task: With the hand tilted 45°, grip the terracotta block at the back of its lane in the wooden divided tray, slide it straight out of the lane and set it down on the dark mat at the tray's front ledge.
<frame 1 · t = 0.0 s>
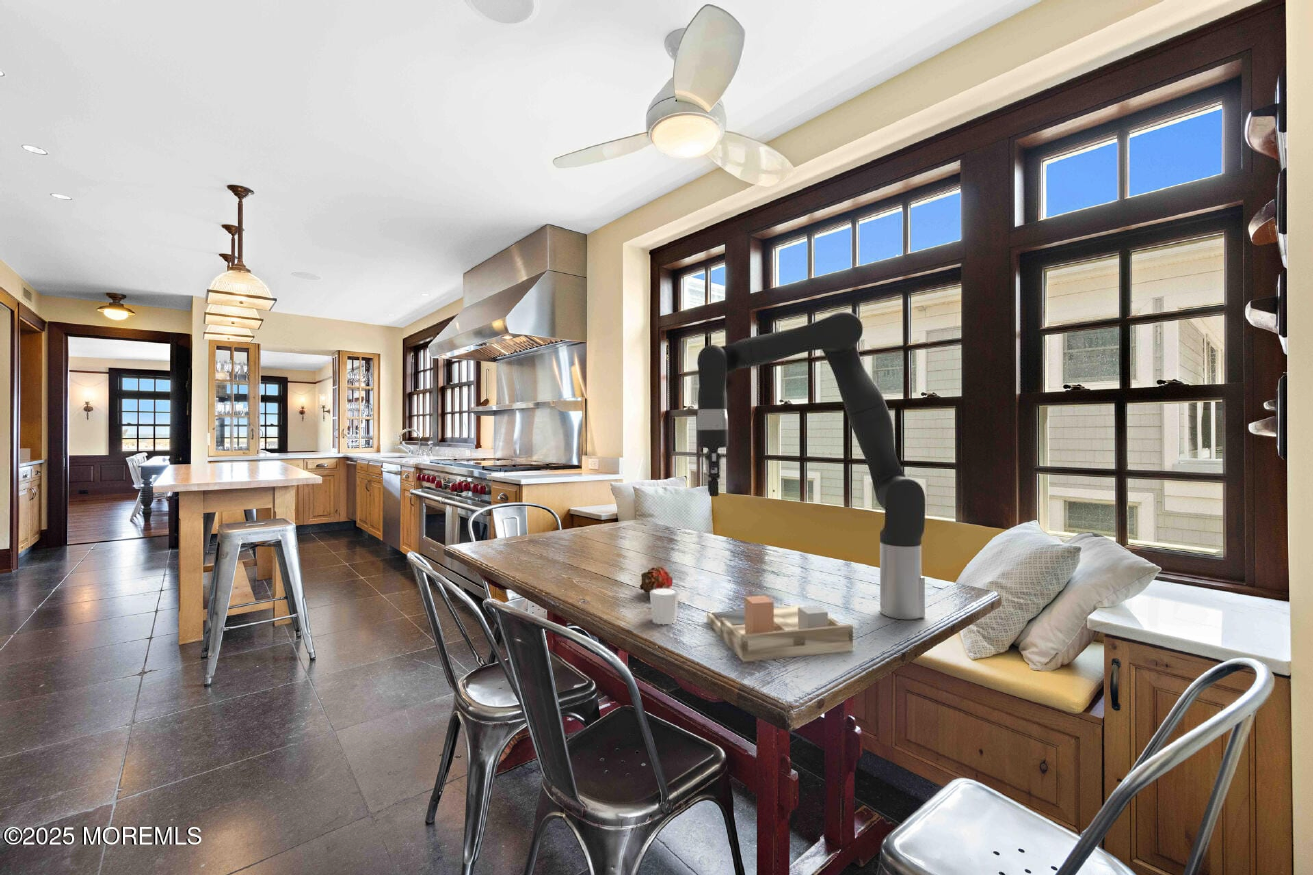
hand: (713, 494, 141), 29 cm above the table, tool pointing down, fingers open, 8 cm apart
grey block: (812, 633, 122), point 2 cm above the table, touching wooden divided tray
terracotta block: (759, 637, 119), point 2 cm above the table, touching wooden divided tray
dragon fruit: (656, 595, 158), on the table
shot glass: (664, 621, 137), on the table
wooden divided tray: (774, 634, 126), on the table
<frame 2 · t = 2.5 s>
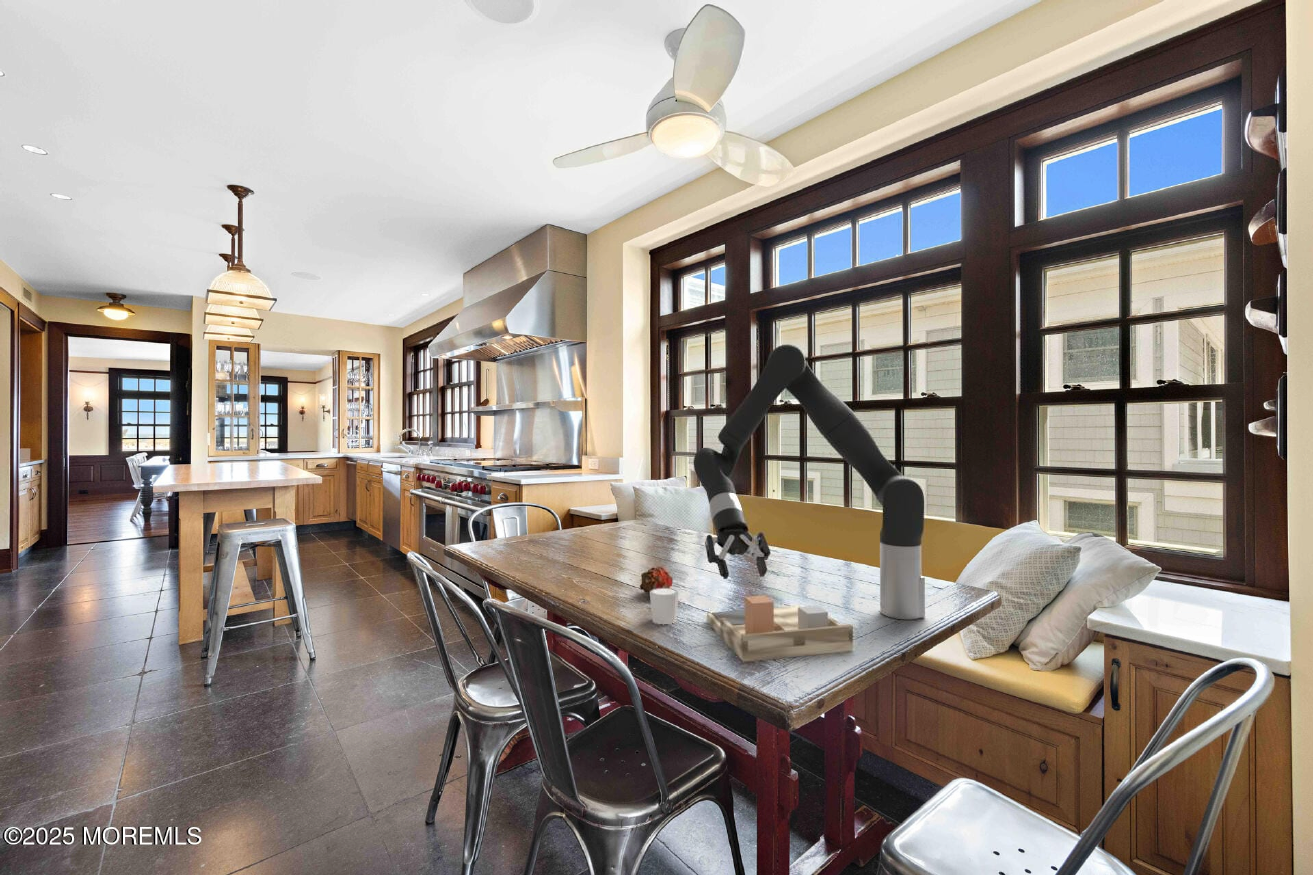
hand: (745, 575, 127), 13 cm above the table, tool tilted 45°, fingers open, 8 cm apart
nothing on the table moved.
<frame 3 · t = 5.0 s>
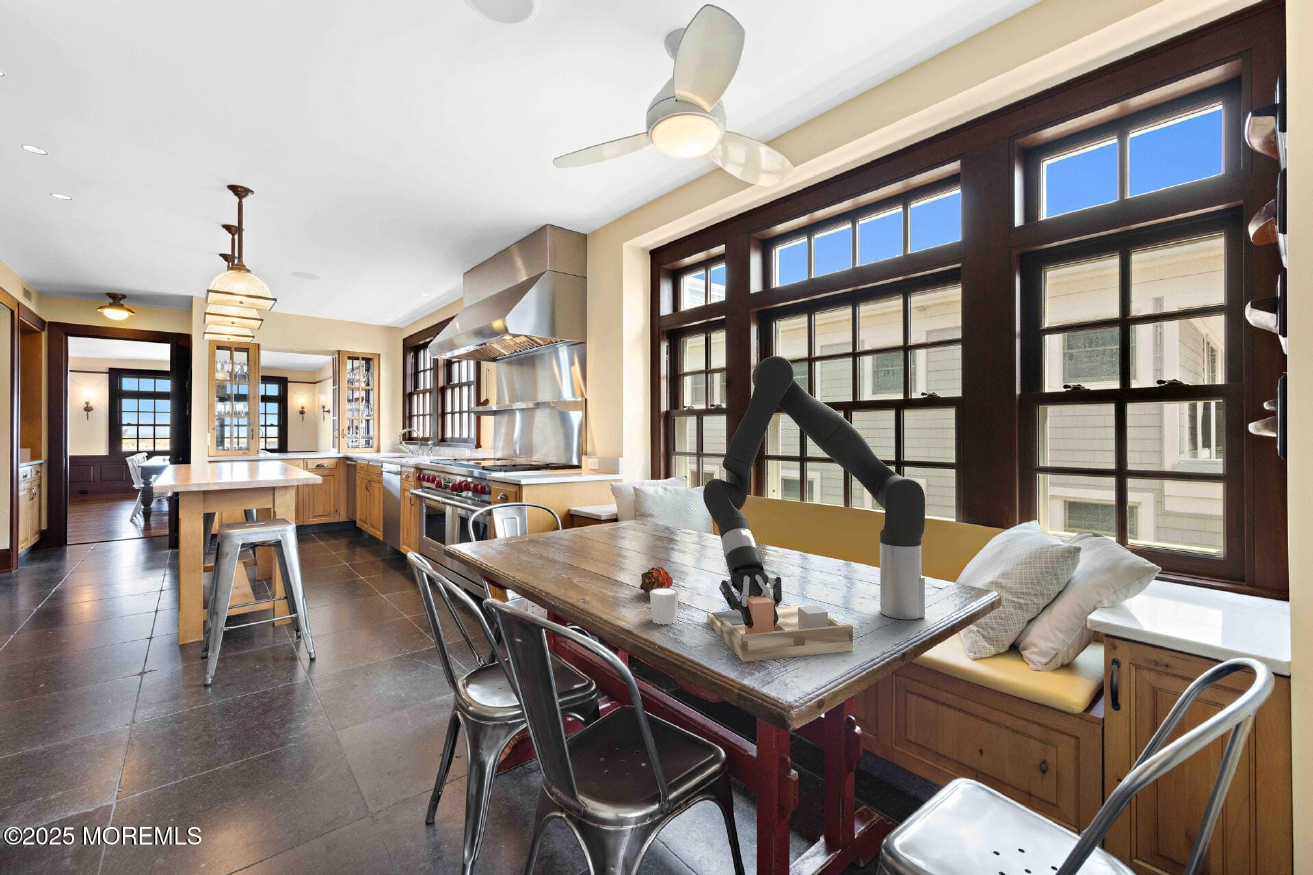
hand: (762, 625, 117), 5 cm above the table, tool tilted 45°, fingers closed on terracotta block, 4 cm apart
terracotta block: (759, 637, 119), point 2 cm above the table, touching gripper, wooden divided tray
everything else where it was.
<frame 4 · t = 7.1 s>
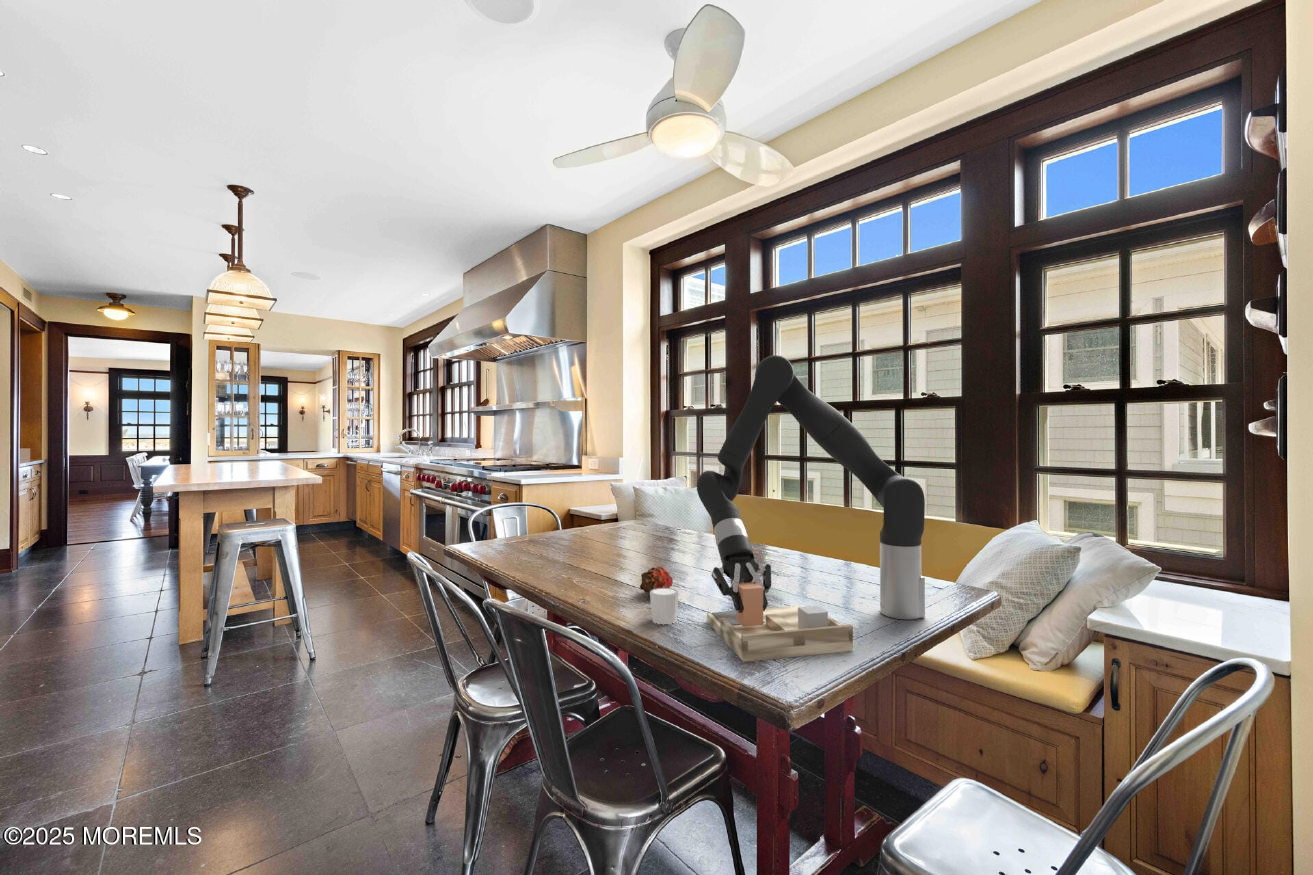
hand: (752, 609, 123), 7 cm above the table, tool tilted 45°, fingers closed on terracotta block, 4 cm apart
terracotta block: (749, 622, 124), point 3 cm above the table, touching gripper
everything else where it was.
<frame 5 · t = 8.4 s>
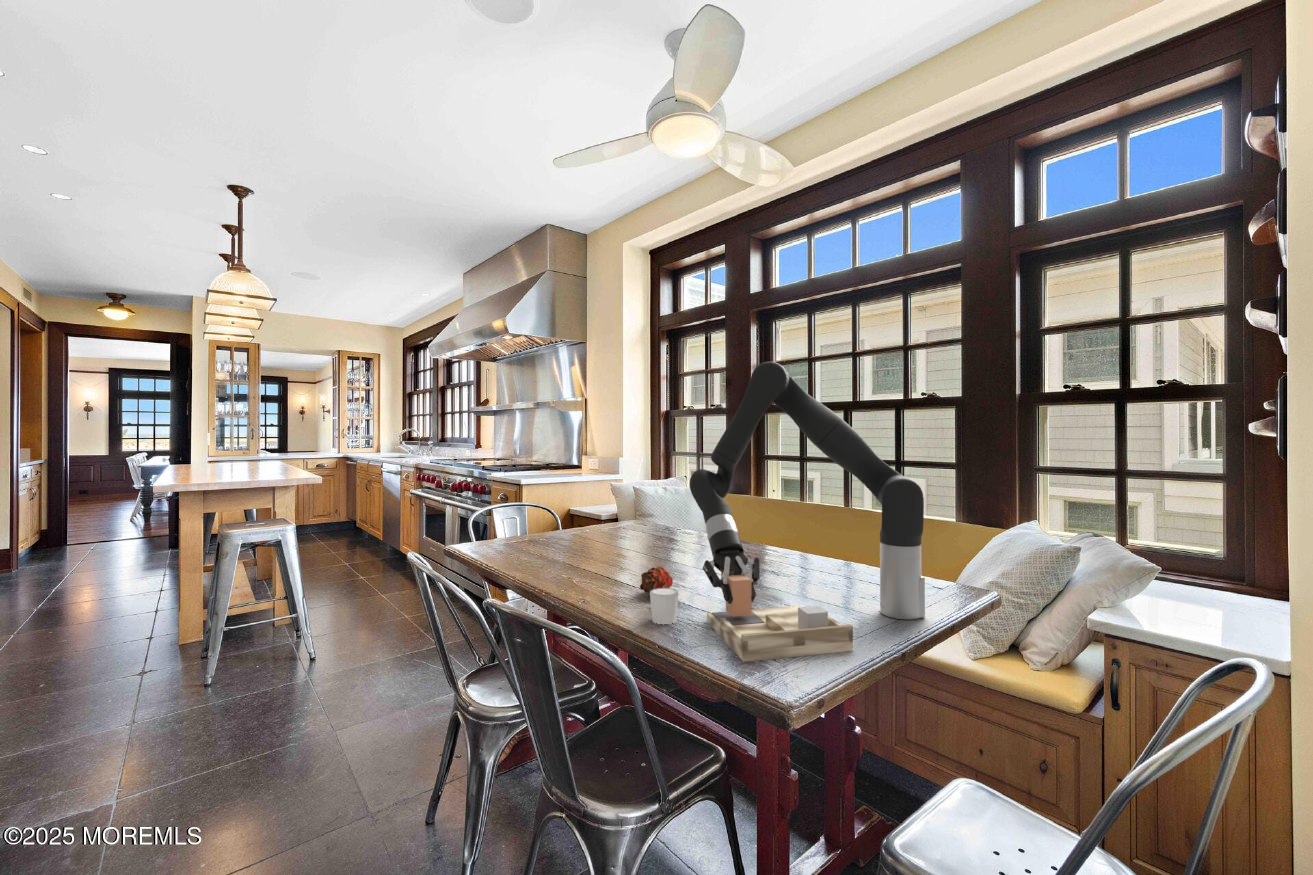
hand: (741, 600, 129), 7 cm above the table, tool tilted 45°, fingers closed on terracotta block, 4 cm apart
terracotta block: (738, 612, 131), point 3 cm above the table, touching gripper
everything else where it was.
when the fingers open (6 cm above the table, at t = 9.6 s): terracotta block stays where it is, resting on wooden divided tray.
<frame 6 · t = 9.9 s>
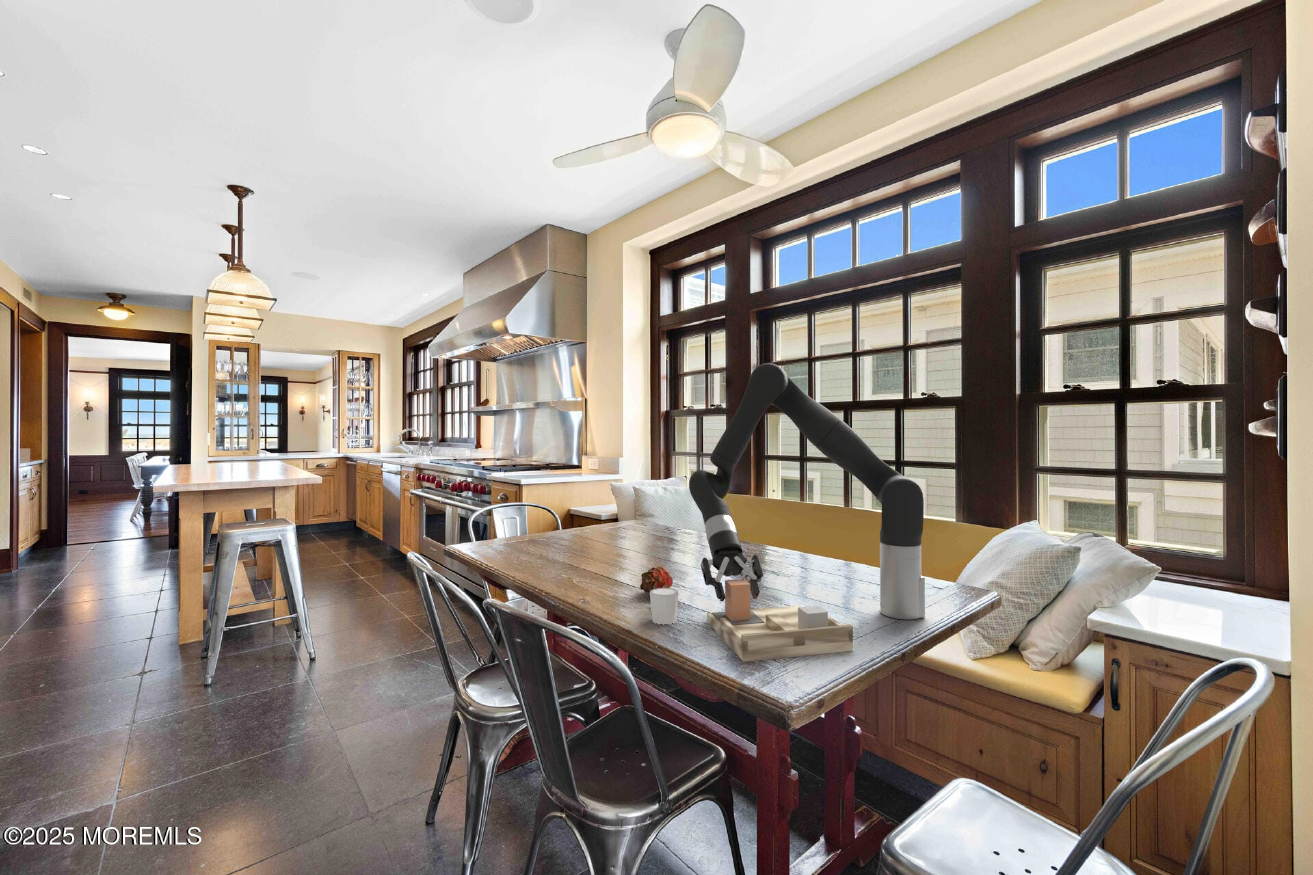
hand: (739, 598, 130), 7 cm above the table, tool tilted 45°, fingers open, 7 cm apart
terracotta block: (737, 616, 132), point 2 cm above the table, touching wooden divided tray
everything else where it was.
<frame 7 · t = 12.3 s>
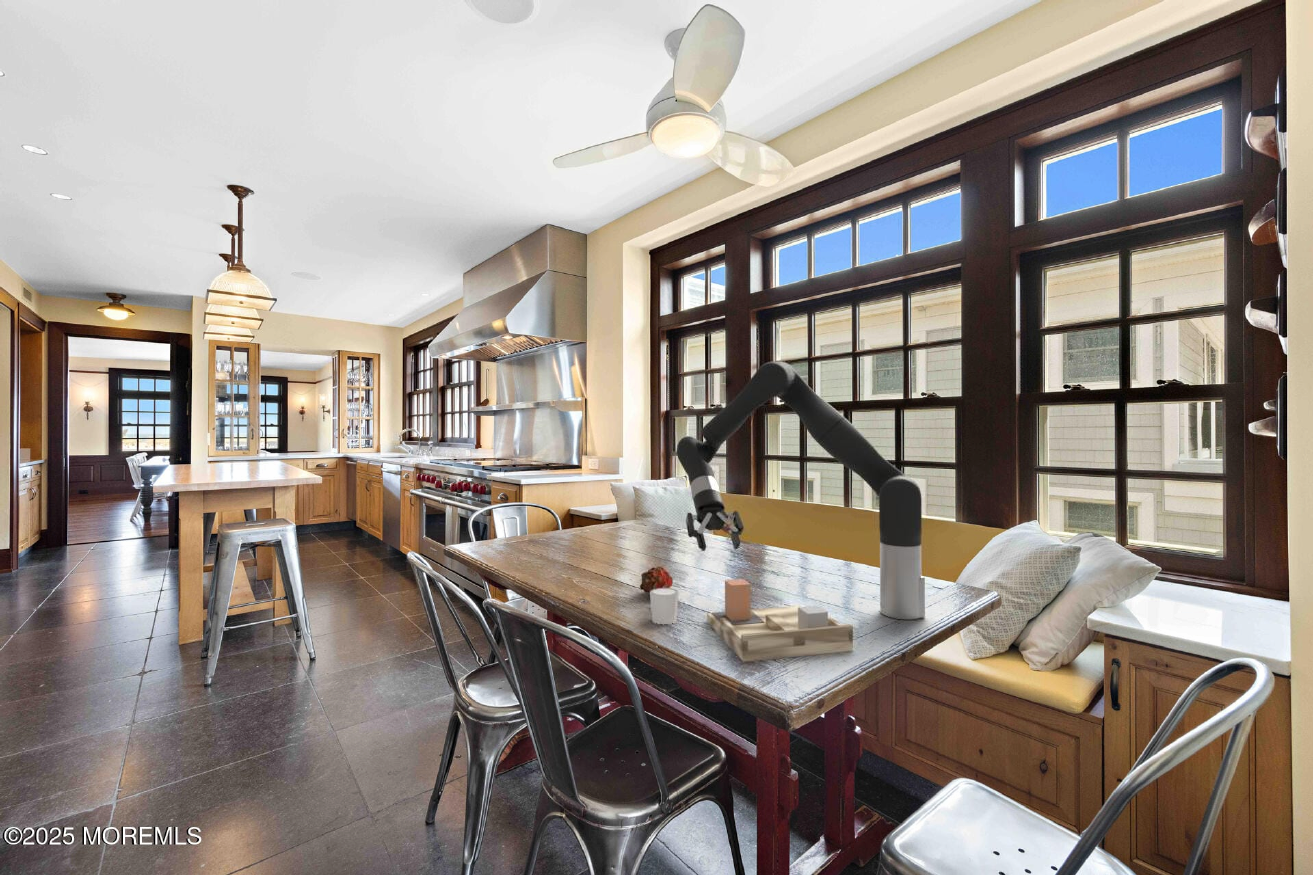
hand: (720, 548, 143), 16 cm above the table, tool tilted 45°, fingers open, 8 cm apart
nothing on the table moved.
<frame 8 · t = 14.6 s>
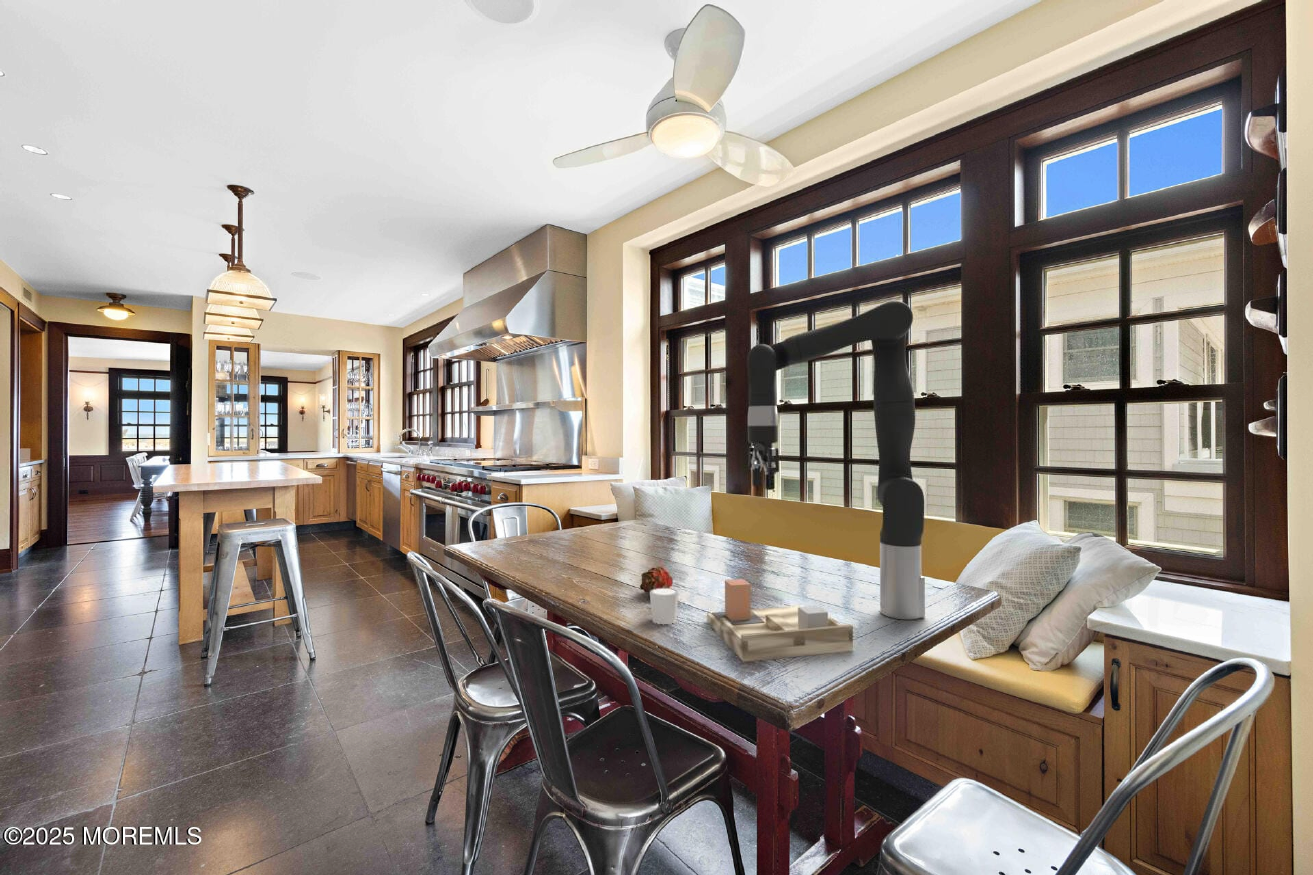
hand: (763, 487, 147), 30 cm above the table, tool pointing down, fingers open, 8 cm apart
nothing on the table moved.
at the end: terracotta block 0.0 cm from the target spot, point 2.2 cm above the table; terracotta block tilted 0°; the gripper is holding nothing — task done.
